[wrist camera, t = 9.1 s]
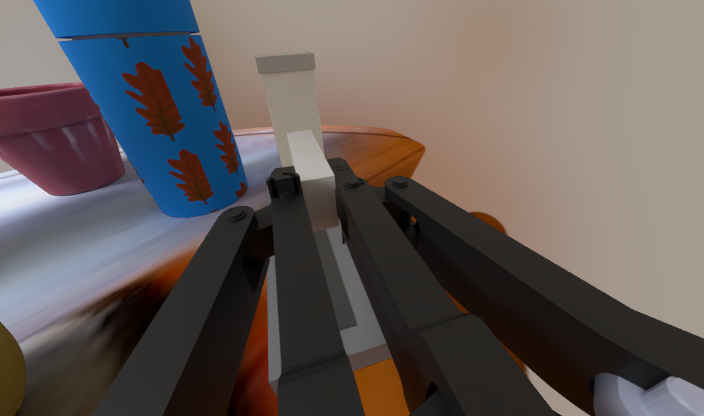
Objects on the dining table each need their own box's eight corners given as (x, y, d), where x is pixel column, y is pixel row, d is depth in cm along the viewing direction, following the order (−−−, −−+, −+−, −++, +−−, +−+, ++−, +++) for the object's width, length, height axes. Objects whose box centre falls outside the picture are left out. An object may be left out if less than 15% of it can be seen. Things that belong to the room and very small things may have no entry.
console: (423, 346, 16) (427, 328, 14) (277, 397, 14) (268, 381, 13) (339, 184, 33) (337, 170, 32) (269, 197, 31) (265, 182, 30)
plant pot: (128, 155, 46) (82, 78, 39) (159, 172, 39) (110, 82, 32) (16, 188, 37) (-72, 96, 30) (29, 219, 30) (-81, 108, 23)
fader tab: (330, 199, 26) (313, 53, 19) (290, 207, 25) (255, 57, 18) (324, 185, 29) (307, 51, 21) (287, 192, 28) (256, 55, 20)
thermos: (262, 175, 37) (191, -75, 22) (222, 220, 28) (63, -142, 14) (195, 174, 38) (88, -61, 24) (137, 216, 29) (-87, -115, 15)
